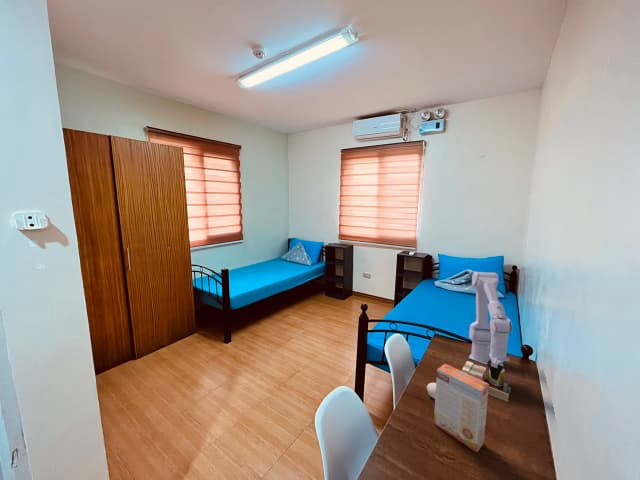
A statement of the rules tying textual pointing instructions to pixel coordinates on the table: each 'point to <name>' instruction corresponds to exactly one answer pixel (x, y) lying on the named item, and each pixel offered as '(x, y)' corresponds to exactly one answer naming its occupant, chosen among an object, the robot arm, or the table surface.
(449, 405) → the cracker box
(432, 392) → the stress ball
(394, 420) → the table surface
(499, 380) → the supplement bottle
